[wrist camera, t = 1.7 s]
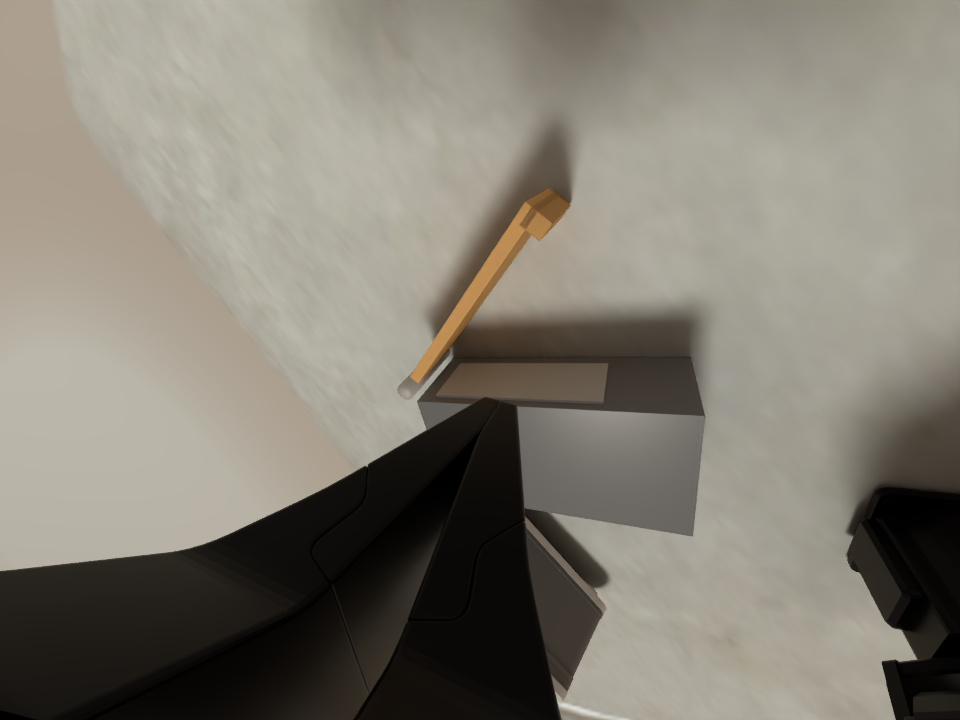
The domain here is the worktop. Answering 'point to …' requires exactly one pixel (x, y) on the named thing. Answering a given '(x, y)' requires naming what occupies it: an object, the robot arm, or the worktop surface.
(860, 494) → the worktop surface
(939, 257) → the worktop surface
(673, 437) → the case
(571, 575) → the camera
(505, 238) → the brown rectangular block
